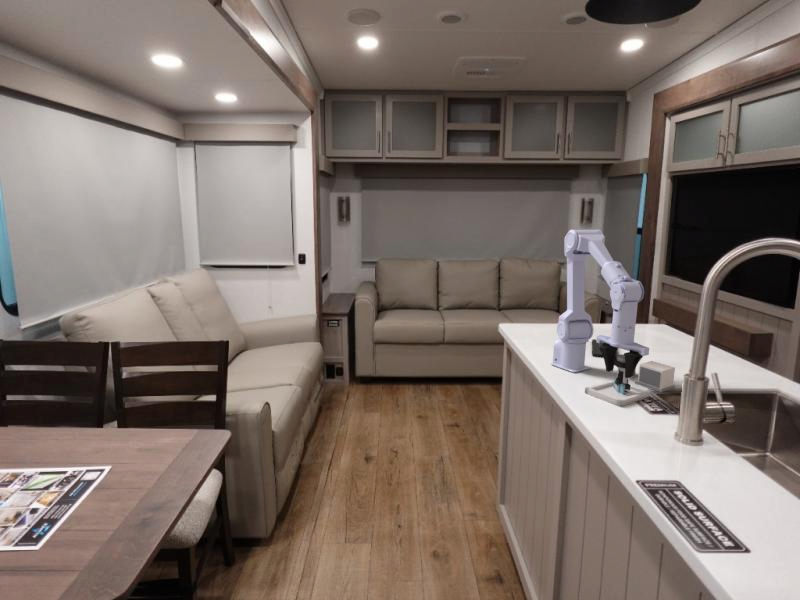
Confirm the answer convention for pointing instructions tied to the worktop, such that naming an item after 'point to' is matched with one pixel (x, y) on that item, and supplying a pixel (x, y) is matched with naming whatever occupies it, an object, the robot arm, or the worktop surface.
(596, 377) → the worktop surface
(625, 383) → the push button
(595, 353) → the smart home device
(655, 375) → the panel
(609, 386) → the tray
